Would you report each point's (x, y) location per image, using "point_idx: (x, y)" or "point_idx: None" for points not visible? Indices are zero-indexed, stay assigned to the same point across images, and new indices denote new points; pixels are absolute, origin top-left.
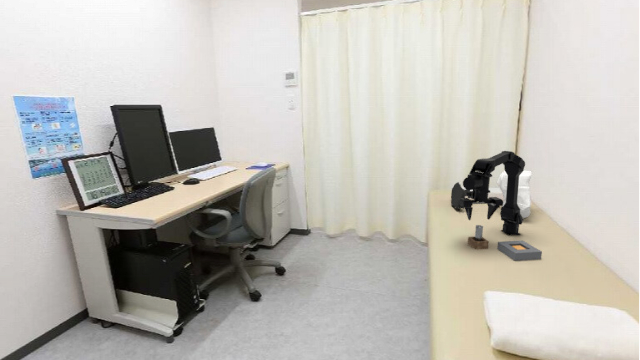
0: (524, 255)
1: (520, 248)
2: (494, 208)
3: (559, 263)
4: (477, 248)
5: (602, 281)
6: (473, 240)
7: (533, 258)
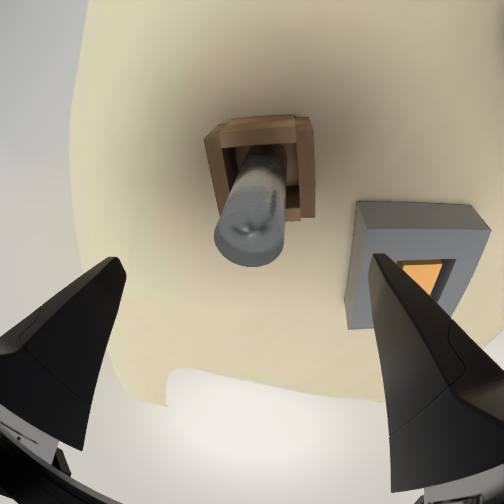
0: None
1: None
2: (396, 468)
3: (460, 310)
4: None
5: None
6: (219, 197)
7: None
